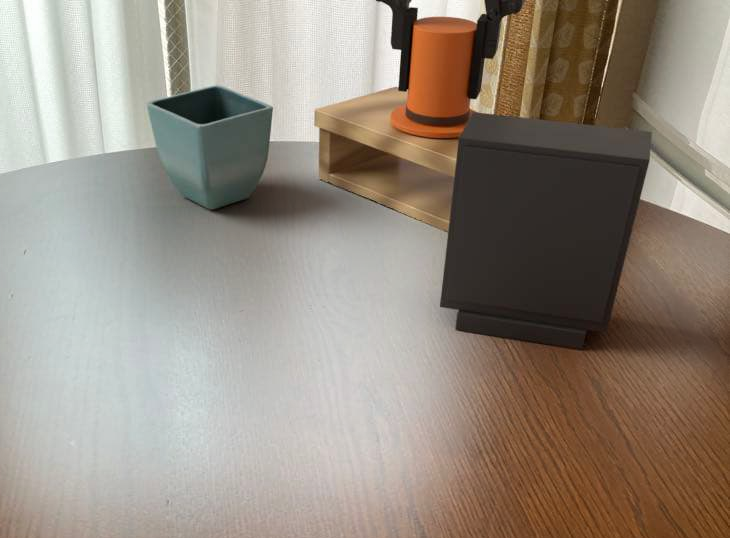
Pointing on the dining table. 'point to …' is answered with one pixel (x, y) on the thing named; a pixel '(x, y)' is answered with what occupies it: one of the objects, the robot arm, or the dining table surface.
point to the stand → (386, 157)
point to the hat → (438, 78)
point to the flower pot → (212, 143)
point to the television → (540, 226)
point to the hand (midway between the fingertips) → (439, 90)
